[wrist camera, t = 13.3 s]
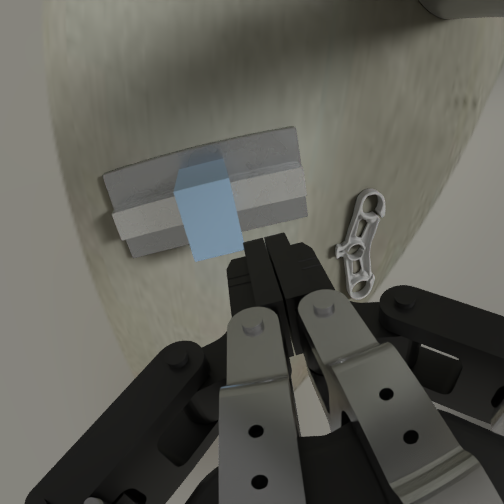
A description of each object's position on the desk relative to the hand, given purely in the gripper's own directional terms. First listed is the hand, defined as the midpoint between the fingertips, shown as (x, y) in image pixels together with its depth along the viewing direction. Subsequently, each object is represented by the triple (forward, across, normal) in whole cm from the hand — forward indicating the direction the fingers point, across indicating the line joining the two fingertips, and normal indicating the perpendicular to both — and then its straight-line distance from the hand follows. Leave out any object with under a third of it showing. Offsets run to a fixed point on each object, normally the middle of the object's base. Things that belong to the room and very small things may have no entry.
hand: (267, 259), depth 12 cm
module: (+22, +3, +4) cm, 22 cm away
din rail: (+22, +3, +4) cm, 23 cm away
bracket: (+24, -13, +16) cm, 32 cm away
